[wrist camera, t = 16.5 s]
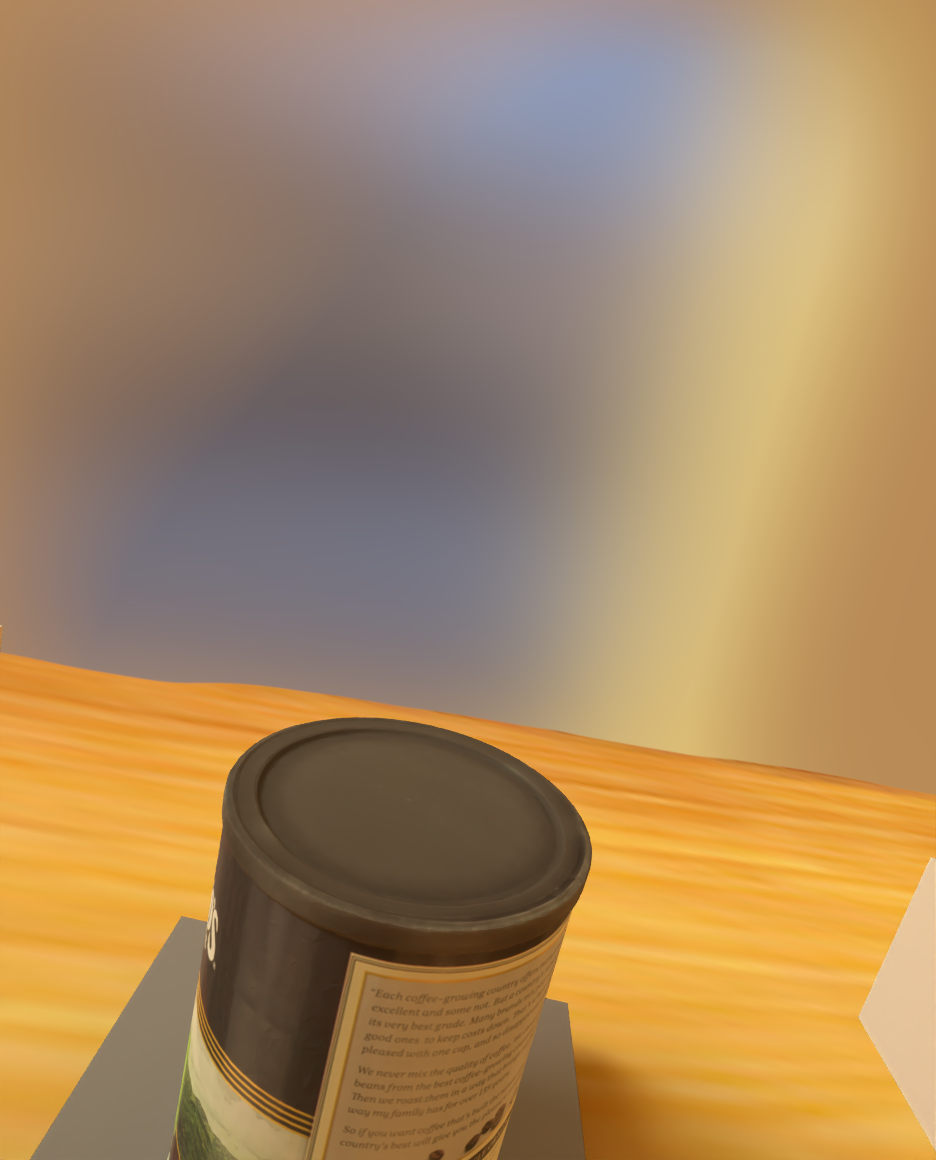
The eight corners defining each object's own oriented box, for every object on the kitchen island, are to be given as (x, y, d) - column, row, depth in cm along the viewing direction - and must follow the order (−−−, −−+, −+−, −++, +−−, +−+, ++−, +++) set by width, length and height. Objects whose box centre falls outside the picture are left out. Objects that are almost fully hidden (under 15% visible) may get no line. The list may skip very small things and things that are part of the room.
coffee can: (78, 1302, 20) (142, 841, 17) (250, 1012, 30) (310, 688, 27) (449, 1448, 19) (593, 983, 16) (500, 1096, 29) (594, 768, 26)
